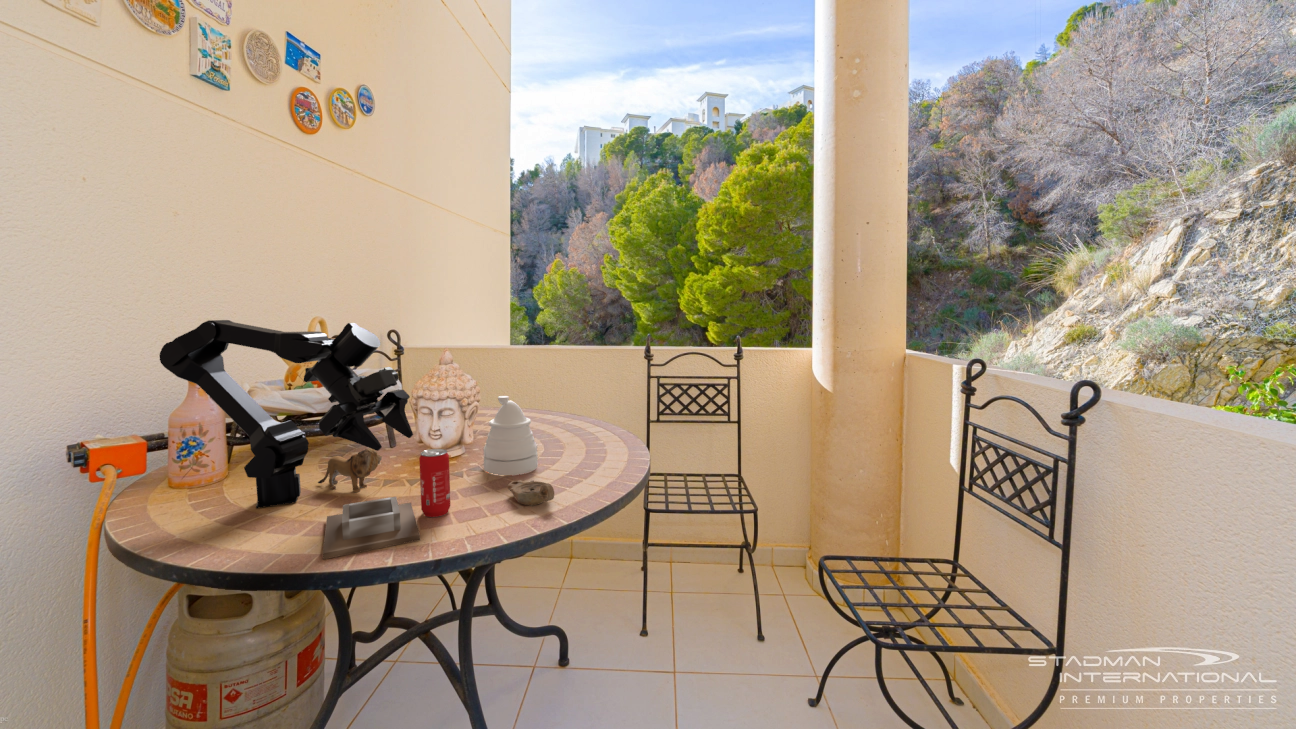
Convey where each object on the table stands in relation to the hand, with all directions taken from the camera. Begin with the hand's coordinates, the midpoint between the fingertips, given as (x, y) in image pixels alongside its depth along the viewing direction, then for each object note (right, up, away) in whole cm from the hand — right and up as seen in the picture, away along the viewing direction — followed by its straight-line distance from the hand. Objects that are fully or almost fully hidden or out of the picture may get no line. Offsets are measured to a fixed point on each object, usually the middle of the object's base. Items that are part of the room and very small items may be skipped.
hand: (396, 442), depth 98 cm
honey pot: (+15, -11, +28) cm, 33 cm away
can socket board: (0, -14, -8) cm, 16 cm away
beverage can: (+8, -14, 0) cm, 16 cm away
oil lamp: (+25, -13, +6) cm, 29 cm away
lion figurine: (-16, -12, +13) cm, 24 cm away
